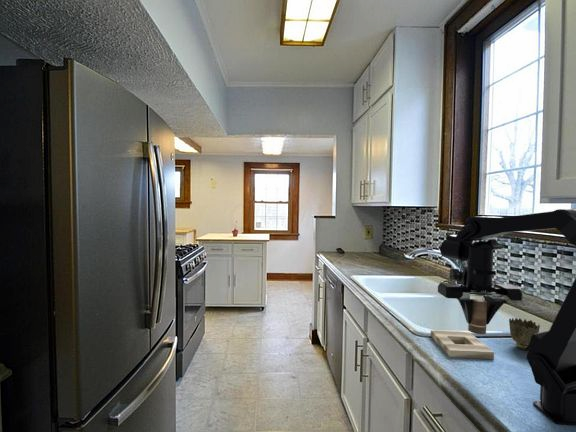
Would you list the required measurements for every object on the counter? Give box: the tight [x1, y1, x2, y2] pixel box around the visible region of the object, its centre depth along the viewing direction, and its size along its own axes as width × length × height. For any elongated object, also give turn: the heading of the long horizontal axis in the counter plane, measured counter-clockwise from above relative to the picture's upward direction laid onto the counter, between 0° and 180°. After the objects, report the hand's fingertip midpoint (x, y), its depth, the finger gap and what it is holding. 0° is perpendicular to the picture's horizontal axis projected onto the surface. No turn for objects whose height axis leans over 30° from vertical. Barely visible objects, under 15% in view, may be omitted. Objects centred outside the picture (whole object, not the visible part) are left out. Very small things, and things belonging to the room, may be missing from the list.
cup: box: [508, 317, 541, 351], centre depth 94 cm, size 8×7×8 cm
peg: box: [467, 298, 488, 335], centre depth 81 cm, size 4×4×8 cm
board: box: [430, 329, 495, 360], centre depth 94 cm, size 14×12×2 cm
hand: (477, 323), depth 81 cm, fingers closed on peg, 4 cm apart
